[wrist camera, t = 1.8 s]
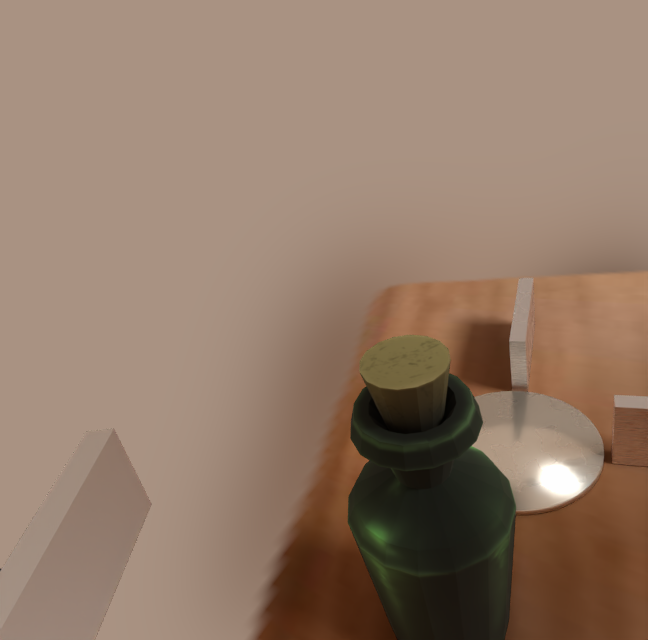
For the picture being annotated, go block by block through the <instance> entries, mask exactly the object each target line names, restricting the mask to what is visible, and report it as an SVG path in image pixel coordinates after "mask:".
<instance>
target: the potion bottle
mask: <svg viewBox="0 0 648 640" xmlns="http://www.w3.org/2000/svg"><path fill="white" fill-rule="evenodd" d="M450 360H451V359H450V354H449V350H448V348H447V347H446V346H445V345H443V344H442V343H441V342H440V341H438V340H436V339H433V338H430V337H427V336H419V335H405V336H398V337H392V338H390V339H387V340H385V341H382V342H379V343H377V344H376V345H374V346H373V347H372V348H370V349H369V350H368V351H366V353H365V354H364V356H363V357H362V359H361V360H360V374H361V376H362V378H363V380H364V382H365V384H366V387H365V388H364V389H362V391H361V393H360V394H359V396H358V398H357V399H356V401H355V403H354V407H353V413H352V418H351V440H352V442H353V443H354V445H355V447H356V448H357V450H358V452H359V453H360V455H362V456H364V457H365V458H367V459H368V460H370V461H369V462H367V463H366V464H365V466H364V468H363V470H362V471H361V473H360V475H359V477H358V479H357V481H356V483H355V485H354V487H353V489H352V491H351V493H350V495H349V500H348V524H349V526H350V529H351V531H352V533H353V536H354V538H355V541H356V543H357V545H358V548H359V550H360V553H361V555H362V557H363V560H364V562H365V565H366V567H367V569H368V572H369V574H370V577H371V579H372V581H373V584H374V586H375V588H376V591H377V593H378V596H379V598H380V600H381V603H382V605H383V608H384V610H385V612H386V615H387V617H388V620H389V622H390V624H391V627H392V629H393V631H394V633H395V635H396V637H397V639H398V640H504V639H505V635H506V631H507V626H508V622H509V611H510V596H511V580H512V564H513V548H514V533H515V517H516V503H515V500H514V496H513V493H512V489H511V485H510V482H509V480H508V479H507V477H506V476H505V475H504V474H503V473H502V472H501V471H500V470H499V468H498V467H497V466H496V465H495V464H494V463H493V462H492V461H491V460H490V459H489V458H488V457H487V456H486V455H485V454H484V453H483V452H482V451H481V450H479V449H477V448H475V447H473V446H472V445H473V444H474V443H475V442H476V441H477V439H478V436H479V433H480V430H481V427H482V425H483V420H482V416H481V412H480V408H479V405H478V403H477V401H476V400H475V398H474V396H473V394H472V393H471V391H470V389H469V388H468V387H467V386H466V385H465V384H464V383H463V382H462V381H461V380H460V379H459V378H458V377H457V376H454V375H452V374H449V369H450Z"/></svg>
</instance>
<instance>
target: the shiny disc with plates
mask: <svg viewBox="0 0 648 640" xmlns="http://www.w3.org/2000/svg"><path fill="white" fill-rule="evenodd" d="M534 330H535V310H534V283H533V278H519V283H518V289H517V295H516V301H515V308H514V314H513V320H512V326H511V332H510V338H509V348H510V364H511V379H512V391H502V392H494V393H488V394H484V395H480V396H477V397H474V398H475V400H476V401H477V403H478V405H479V408H480V412H481V416H482V420H483V425H482V427H481V430H480V433H479V436H478V439H477V441H476V442H475V443H474V444H473V445H472V446H473V447H475V448H477V449H479V450H481V451H482V452H483V453H484V454H485V455H486V456H487V457H488V458H489V459H490V460H491V461H492V462H493V463H494V464H495V465H496V466H497V467H498V468H499V470H500V471H501V472H502V473H503V474H504V475H505V476H506V477H507V479H508V480H509V482H510V485H511V489H512V493H513V496H514V500H515V503H516V515H531V514H540V513H545V512H550V511H554V510H557V509H560V508H563V507H565V506H567V505H569V504H572V503H573V502H575V501H577V500H578V499H580V498H581V497H583V496H584V495H585V494H586V493H587V492H589V491H590V489H591V488H592V487H593V486H594V485H595V484H596V482H597V480H598V478H599V477H600V475H601V472H602V469H603V463H604V446H603V442H602V438H601V436H600V434H599V432H598V430H597V429H596V427H595V426H594V424H593V423H592V422H591V421H590V420H589V419H588V418H587V417H586V416H585V415H584V414H583V413H581V412H580V411H579V410H577V409H576V408H574V407H573V406H571V405H569V404H567V403H565V402H563V401H561V400H558V399H556V398H553V397H550V396H546V395H543V394H538V393H533V392H528V386H529V377H530V367H531V358H532V348H533V339H534ZM612 464H623V465H634V466H645V467H648V397H646V396H626V395H614V409H613V431H612Z"/></svg>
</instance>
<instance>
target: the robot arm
mask: <svg viewBox="0 0 648 640" xmlns="http://www.w3.org/2000/svg"><path fill="white" fill-rule="evenodd" d="M150 507H151V502H150V500H149V498H148V496H147V494H146V492H145V490H144V488H143V486H142V484H141V482H140V480H139V478H138V476H137V474H136V472H135V470H134V468H133V466H132V464H131V462H130V460H129V458H128V456H127V454H126V452H125V450H124V448H123V446H122V444H121V442H120V440H119V438H118V436H117V434H116V432H115V430H114V429H106V430H96V431H87V432H86V433H85V434H84V436H83V438H82V439H81V441H80V443H79V444H78V446H77V448H76V449H75V451H74V452H73V454H72V456H71V457H70V459H69V460H68V462H67V464H66V465H65V467H64V469H63V470H62V472H61V473H60V475H59V477H58V478H57V480H56V482H55V483H54V485H53V486H52V488H51V490H50V491H49V493H48V494H47V496H46V498H45V499H44V501H43V503H42V504H41V506H40V507H39V509H38V511H37V512H36V514H35V516H34V517H33V519H32V521H31V522H30V524H29V525H28V527H27V528H26V530H25V532H24V533H23V535H22V537H21V538H20V540H19V541H18V543H17V545H16V546H15V548H14V550H13V551H12V553H11V554H10V556H9V558H8V559H7V561H6V563H5V565H4V566H3V567H2V569H0V640H95V638H96V636H97V634H98V631H99V628H100V626H101V624H102V622H103V619H104V617H105V615H106V612H107V610H108V607H109V605H110V602H111V600H112V597H113V595H114V593H115V591H116V588H117V586H118V583H119V581H120V579H121V576H122V574H123V571H124V569H125V567H126V564H127V562H128V559H129V557H130V555H131V552H132V550H133V547H134V545H135V543H136V540H137V538H138V535H139V533H140V530H141V528H142V526H143V523H144V521H145V519H146V516H147V513H148V511H149V509H150Z"/></svg>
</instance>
